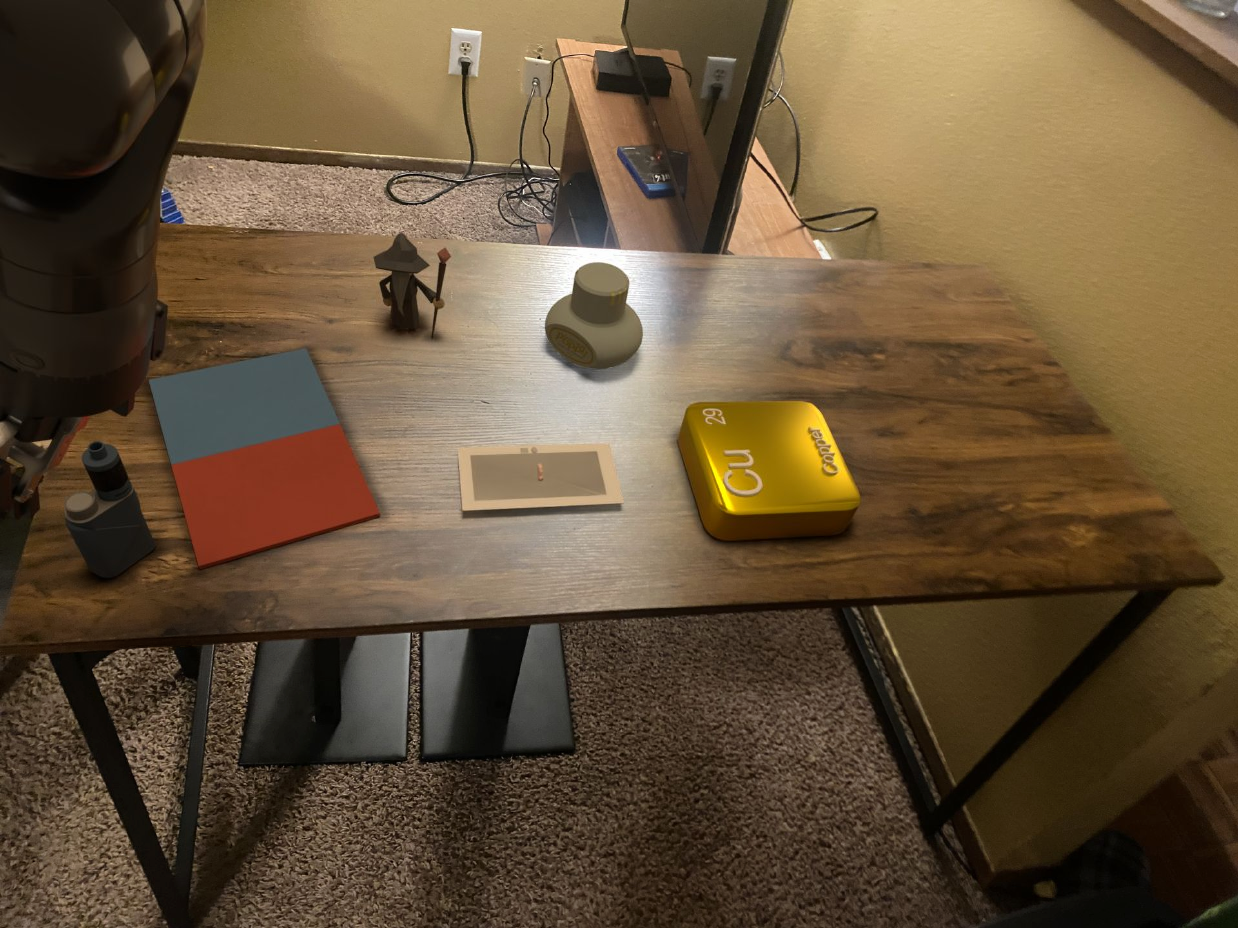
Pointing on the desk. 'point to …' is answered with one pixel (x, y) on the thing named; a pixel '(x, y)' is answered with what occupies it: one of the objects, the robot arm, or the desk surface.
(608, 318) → the air freshener
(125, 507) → the vaping device
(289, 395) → the sorting mat
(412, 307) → the wizard figurine
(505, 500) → the touchpad
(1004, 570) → the desk surface
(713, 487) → the element tile
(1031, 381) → the desk surface
